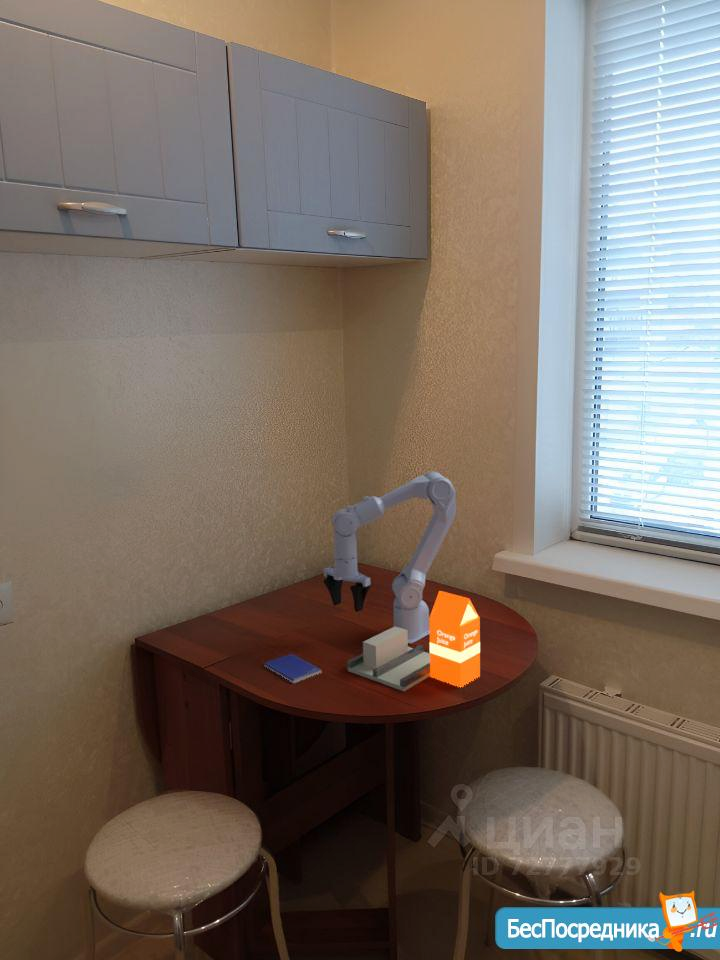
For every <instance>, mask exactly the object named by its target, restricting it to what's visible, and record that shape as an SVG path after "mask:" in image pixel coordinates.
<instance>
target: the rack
mask: <svg viewBox="0 0 720 960" xmlns="http://www.w3.org/2000/svg"><path fill="white" fill-rule="evenodd" d="M346 663H347V664H346V666H347V672H350V673H353V674H355V675H357V676H358V675H359V676H361V677H363V678H366V679H369V680H372V681H374V682H377V683H380V684H382V685H384V686H388V687H391V688H393V689H396V690H399V691H402V692H405V691H407V690H409V689H411V688H412V687H414V686H415V685H417V684H419V683H421V682H422V681H425V680H426V679H428V678H429V677H430V652H425V646H424V645H422V644H419V645H417V646H416V647H410V646H408V652H406V653H404V654H402V655H400V656H398V657H396V658H395V659H393V660H391V661H389V662H387V663H385V664H383V665H381V666H380V667H378V668H376V669H372V668H369V667H366V666H364V659H363V652H362V653H361V654H359V655H357V656H354V657H352V658H350V659H348V660H347V661H346Z"/></svg>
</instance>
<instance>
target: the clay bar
mask: <svg viewBox="0 0 720 960" xmlns="http://www.w3.org/2000/svg"><path fill="white" fill-rule="evenodd" d="M408 647H409V644H408V630H405V629H402V628H399V627H394V626H393V627H391V628H388V629H386V630H384V631H383V632H380V633H378V634H376V635H374V636H372V637H370V638H368V639H366V640H364V641H362V650H363V651H362V653H363V659H364V666H366V667H369V668H372V669H376V668H378V667H380V666H381V665H383V664H385V663H387V662H389V661H391V660H393V659H395V658H396V657H398V656H400V655H402V654H404V653H406V652H408Z"/></svg>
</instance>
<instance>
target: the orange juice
mask: <svg viewBox="0 0 720 960" xmlns="http://www.w3.org/2000/svg"><path fill="white" fill-rule="evenodd" d="M480 620H481V616H479V614H478V613H477V610H476V609H475V607H474V605H473V603H472V600H471V599H470V598H469V597H465V596H462V595H458V594H454V593H451V592H450V593H449V592H447V591H442V590H439V591H438V594H437V596H436V599H435V602H434V603H433V607H432V609H431V613H430V614H429V631H430V634H429V653H430V676H429V677H430V678H432V679H434V678H435V680H438V681H440V682H442V683H445V682H446V684H448V683H449V684H448V685H452V686H455V687H456V686H457V687H456V688H459V687H460V688H459V689H461V687H462V688H464V687H465V686H467V685H469V684H470V683H472V682H474V681H475V680H477V679H479V678H480V677H481V630H480V629H481V621H480ZM478 677H479V678H478ZM476 678H477V679H476ZM474 679H475V680H474ZM471 681H472V682H471ZM469 682H470V683H469ZM466 684H467V685H466ZM464 685H465V686H464Z"/></svg>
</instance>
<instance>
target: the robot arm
mask: <svg viewBox="0 0 720 960" xmlns="http://www.w3.org/2000/svg"><path fill="white" fill-rule="evenodd" d="M456 494H457V490H456V489H455V487H454V485H453V484H452V482H451V480H450V479H448V478H447V477H444V476H443V475H442V474H441V473H439V472H437V471H432V470H431V471H429V472H426V473H425V474H422V475H419V476H417V477H415V478H413V479H411V480H410V481H408V482H406V483H404V484H403V485H401V486H399V487H397V488H395V489H393V490H391V491H390V492H388V493H386V494H384V495H382V496H381V497H377V496H374V495H372V496H370V497H369V495H366V496H364V497H363V500H361V501H359V502H356V503H355V504H353V505H350V504H349V505H347V506H346V508H345V509H344V508H341V509H339V510H337V511H335V513H334V514H333V516H332V519H331V524H332V526H333V528H334V530H333V537H334V539H333V549H334V550H333V551H334V568H333V567H326V568H323V577H326V578H325V579H323V584H324V586H326V588H327V590H328V592H329V594H330V598H331V601H332V605H333V606H335V607H336V606H339V604H341V603H342V585H343V581H345V582H350V583H354V585H351V586H349V589H350V591H351V594H352V597H353V607H354V608H353V609H354V611H355V612H356V613H358V612H361V611H363V610H364V609H363V608H364V603H365V600H366V596H367V594H368V591H369V590H370V588H371V586H372V585H371V577H370V576H369V577H368V575H367V576H366V575H364V574H362V573H361V572H359V571H358V549H357V548H358V547H357V546H358V545H357V544H358V543H357V537H356V532H357V531H358V528H362V527H363V526H365V525H367V524H369V523H372V522H374V521H375V520H377V519H380V518H382V517H383V516H384V513H385V511H386V510H387V509H389V508H392V507H394V506H397V505H399V504H401V503H404V502H406V501H409V500H411V499H413V498H417V499H424V500H428V499H429V500H430V504H431V506H432V509H433V511H434V512H433V514H432V517H431V518H430V521H429V523H427V526H426V529H425V531H424V532H423V535H422V537H421V538H420V540H419V542H418V545H417V547H416V549H415V551H414V553H413V554H412V557H411V558H410V561H409V563H408V565H406V566H404V568H402V570H401V572H400V574H398V576H396V577H394V579H393V581H392V583H391V589H392V592H393V593H394V595H395V597H394V598H395V599H394V600H393V603H392V605H393V627H399V628H402V629H405V630H408V645H409V644H410V645H412V644H414V643H416V642H418V641H420V640H421V639H423V638H426V637H427V636H430V629H429V617H430V609H429V607H428V605H427V603H426V601H424V600H423V592H424V591H423V590H424V588H425V586H426V575H427V574H428V571H429V570H430V568H431V566H432V563H433V562H434V559H435V557H436V555H437V553H438V551H439V549H440V548H441V545H442V543H443V542H444V539H445V537H446V536H447V533H448V532H449V530H450V527H451V525H452V523H453V522H454V519H455V517H456V515H457V507H456Z"/></svg>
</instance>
